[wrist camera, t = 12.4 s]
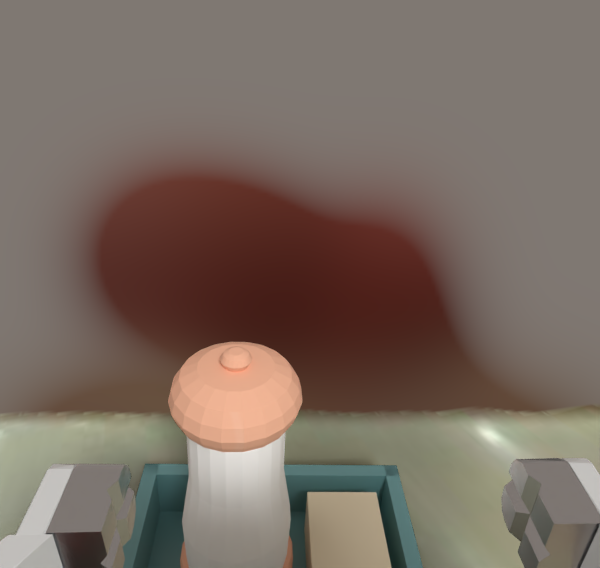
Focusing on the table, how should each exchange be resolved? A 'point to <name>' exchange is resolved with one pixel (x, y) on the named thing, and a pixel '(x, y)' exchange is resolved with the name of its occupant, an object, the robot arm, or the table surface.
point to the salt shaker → (236, 455)
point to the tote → (300, 479)
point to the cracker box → (344, 531)
